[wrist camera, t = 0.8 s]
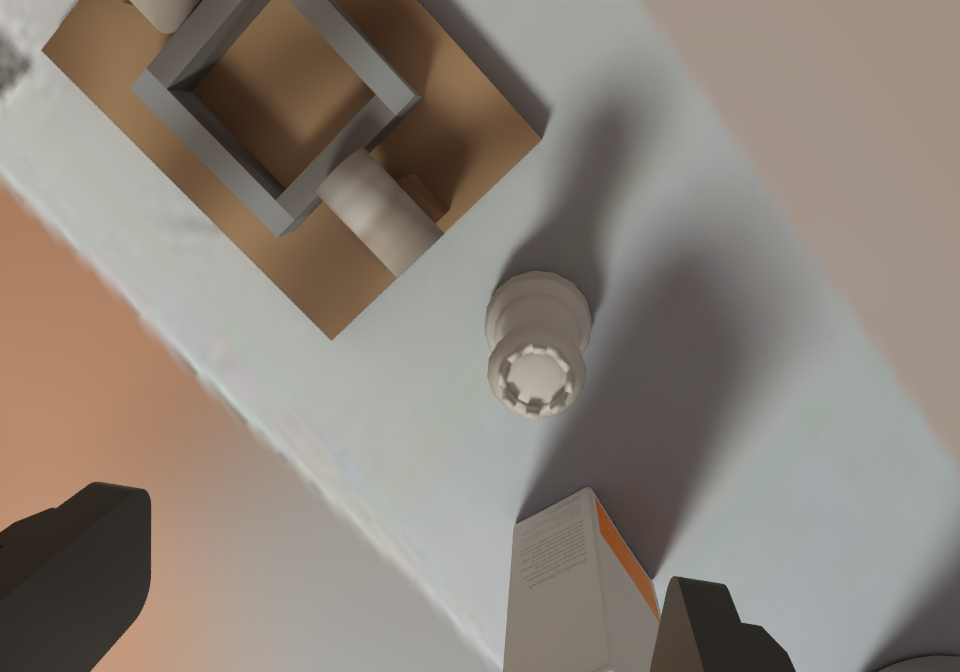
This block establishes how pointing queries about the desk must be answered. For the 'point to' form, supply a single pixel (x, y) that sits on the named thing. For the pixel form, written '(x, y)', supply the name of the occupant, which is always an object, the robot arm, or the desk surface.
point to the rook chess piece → (537, 343)
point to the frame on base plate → (302, 128)
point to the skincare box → (577, 594)
